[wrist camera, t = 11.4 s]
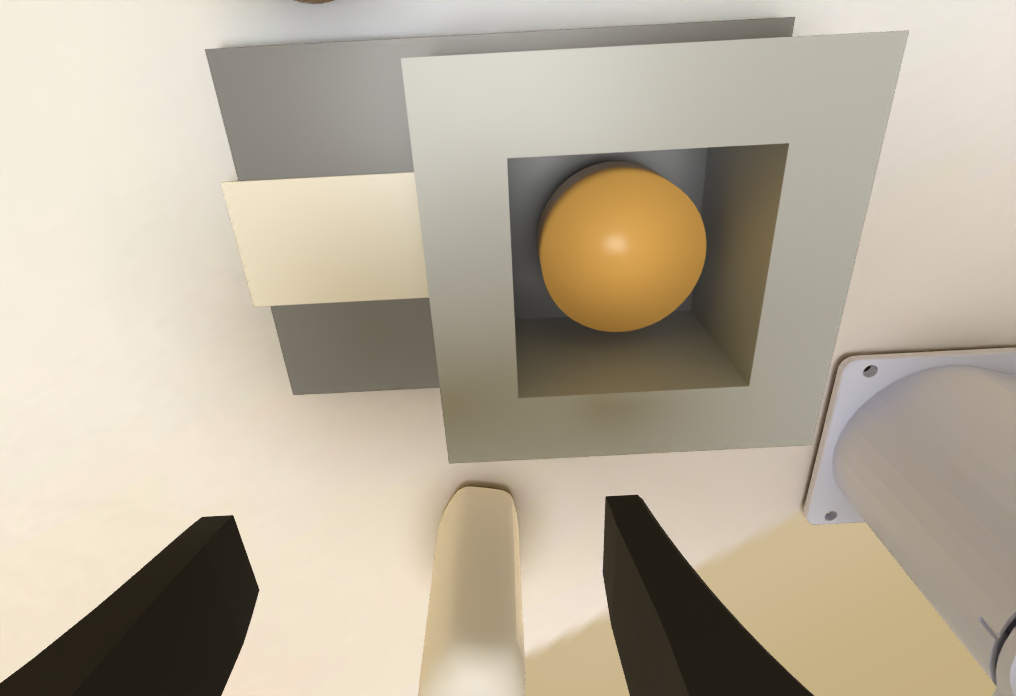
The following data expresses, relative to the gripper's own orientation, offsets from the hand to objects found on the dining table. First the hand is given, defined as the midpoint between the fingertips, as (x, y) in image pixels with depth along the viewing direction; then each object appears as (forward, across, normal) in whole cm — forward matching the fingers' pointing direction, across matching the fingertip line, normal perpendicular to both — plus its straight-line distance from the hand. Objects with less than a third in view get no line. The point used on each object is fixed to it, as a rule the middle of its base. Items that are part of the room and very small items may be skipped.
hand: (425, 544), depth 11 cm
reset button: (+8, -5, -3) cm, 10 cm away
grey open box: (+10, -2, -3) cm, 11 cm away
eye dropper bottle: (+11, 0, +10) cm, 15 cm away
